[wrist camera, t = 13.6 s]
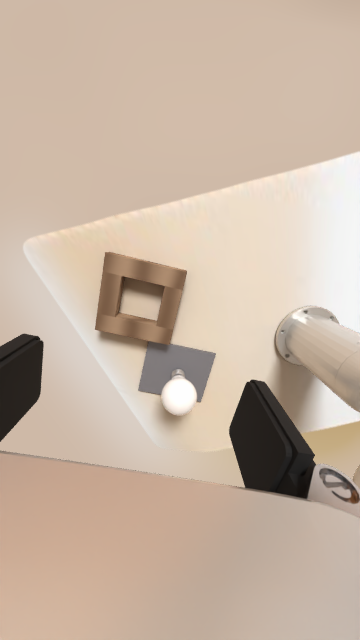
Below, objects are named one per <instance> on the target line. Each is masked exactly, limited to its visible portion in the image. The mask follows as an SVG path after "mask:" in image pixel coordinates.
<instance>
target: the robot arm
mask: <svg viewBox="0 0 360 640" xmlns="http://www.w3.org/2000/svg"><path fill="white" fill-rule="evenodd" d="M276 347H277V349H278V352H279V353H280V354H281V356H282V357H283V358H284V359H286V360H287V361H288V362H290V363H293V364H296V365H304V366H305V367H306V368H307V369H308V370H309V371H310V372H312V373H313V374H314V375H315V376H316V377H317V378H318V379H319V380H320V381H322V382H323V383H324V384H325V385H326V386H327V387H328V388H329V389H331V390H332V391H333V392H334V393H335V394H336V395H337V396H338V397H339V398H341V399H342V400H343V401H344V402H345V403H346V404H348V405H349V406H350V407H351V408H353V409H354V410H356V411H358V412H360V333H357V332H355V331H353V330H351V329H349V328H346V327H344V326H342V325H340V324H339V322H338V320H337V318H336V316H335V315H334V314H333V313H332V312H330V311H329V310H327V309H324V308H322V307H318V306H306V307H302V308H299V309H297V310H295V311H293V312H291V313H290V314H289V315H287V316H286V317H285V319H284V320H283V321H282V322H281V324H280V325H279V328H278V330H277V333H276ZM42 359H43V341H40V338H39V337H38V336H33V335H28V334H22V335H20V336H18V337H16V338H15V339H13V340H11V341H9V342H7V343H6V344H4V345H2V346H0V442H1V440H2V439H3V438H4V437H5V436H6V435H7V434H8V433H9V432H10V430H11V429H12V428H13V427H14V426H15V425H16V424H17V423H18V422H19V420H20V419H21V418H22V417H23V416H24V415H25V414H26V413H27V412H28V411H29V409H30V408H31V407H32V406H33V405H34V404H35V403H36V402H37V400H38V398H39V396H40V391H41V375H42ZM229 434H230V438H231V441H232V445H233V448H234V451H235V455H236V458H237V461H238V465H239V468H240V471H241V475H242V478H243V481H244V485H245V488H242V487H237V486H230V485H224V484H217V483H212V482H205V481H199V480H192V479H187V478H180V477H174V476H167V475H161V474H153V473H148V472H141V471H134V470H127V469H122V468H114V467H108V466H102V465H95V464H88V463H81V462H74V461H68V460H61V459H54V458H48V457H40V456H34V455H26V454H20V453H13V452H6V451H0V640H360V465H359V466H358V468H357V469H356V471H355V473H354V476H353V481H352V480H351V479H350V478H349V477H348V476H347V475H345V474H344V473H342V472H341V471H339V470H338V469H336V468H334V467H332V466H329V465H327V464H318V465H316V464H315V462H314V461H313V458H314V456H315V454H314V453H313V452H312V450H311V449H310V447H309V446H308V444H307V443H306V441H305V440H304V439H303V437H302V436H301V434H300V433H299V431H298V430H297V428H296V427H295V425H294V424H293V422H292V421H291V419H290V418H289V417H288V415H287V414H286V412H285V411H284V409H283V408H282V406H281V405H280V403H279V402H278V400H277V399H276V398H275V396H274V395H273V393H272V392H271V390H270V389H269V387H268V386H267V384H266V383H265V382H262V381H257V380H251V381H250V382H247V383H246V385H245V388H244V390H243V393H242V396H241V398H240V401H239V404H238V406H237V409H236V412H235V414H234V417H233V420H232V422H231V425H230V429H229Z"/></svg>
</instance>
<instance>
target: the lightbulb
mask: <svg viewBox="0 0 360 640" xmlns="http://www.w3.org/2000/svg"><path fill="white" fill-rule="evenodd" d="M161 400H162V404H163V406H164V408H165V409H166V410H167V411H168V412H169V413H171V414H173V415H178V416H180V415H185V414H187V413H189V412H190V411H191V410H192V409H193V408H194V406H195V404H196V401H197V392H196V389H195V387H194V385H193V384H192V383H191V382H190V381H188V380H187V379H185V374H184V371H183V370H181V369H175V370H174V371H173V372H172V379H171V380H170V381H168V382H167V383H166V384H165V386H164V387H163V390H162V393H161Z"/></svg>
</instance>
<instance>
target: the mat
mask: <svg viewBox="0 0 360 640" xmlns="http://www.w3.org/2000/svg"><path fill="white" fill-rule="evenodd" d="M215 355H216V354H215V353H211V352H207V351H202V350H197V349H192V348H188V347H183V346H178V345H173V344H169V345H166V344H161V343H157V342H152V341H149V342H148V347H147V352H146V356H145V361H144V366H143V370H142V375H141V380H140V385H139V389H138V390H139V391H144V392H150V393H155V394H160V395H161V393H162V390H163V387H164V386H165V384H166V383H167V382H168V381H170V380H171V379H172V372H173V371H174V370H175V369H181V370H183V371H184V374H185V379H187V380H188V381H190V382H191V383H192V384H193V385H194V387H195V389H196V392H197V401H198V402H201V399H202V396H203V393H204V390H205V387H206V383H207V380H208V377H209V374H210V371H211V368H212V364H213V361H214V358H215Z"/></svg>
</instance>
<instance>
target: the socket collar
mask: <svg viewBox="0 0 360 640" xmlns="http://www.w3.org/2000/svg"><path fill="white" fill-rule="evenodd" d="M186 274H187V271H186V270H182V269H178V268H173V267H169V266H165V265H161V264H157V263H153V262H149V261H144V260H140V259H136V258H132V257H128V256H124V255H120V254H116V253H111V252H105V259H104V266H103V274H102V281H101V288H100V296H99V303H98V311H97V318H96V326H95V330H99V331H104V332H109V333H113V334H118V335H123V336H128V337H133V338H137V339H142V340H147V341H152V342H157V343H161V344H166V345H169V344H170V340H171V336H172V332H173V328H174V323H175V319H176V315H177V311H178V307H179V303H180V299H181V295H182V291H183V287H184V282H185V278H186ZM125 277H128V278H133V279H137V280H141V281H146V282H150V283H154V284H158V285H163V286H165V288H164V292H163V297H162V301H161V306H160V310H159V315H158V320H157V321H155V320H150V319H145V318H141V317H136V316H132V315H127V314H122V313H119V309H120V302H121V296H122V290H123V284H124V278H125Z"/></svg>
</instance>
